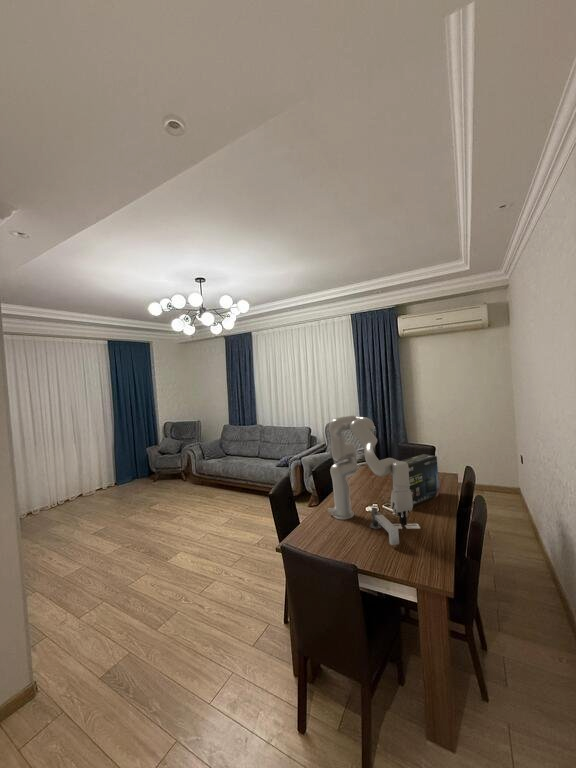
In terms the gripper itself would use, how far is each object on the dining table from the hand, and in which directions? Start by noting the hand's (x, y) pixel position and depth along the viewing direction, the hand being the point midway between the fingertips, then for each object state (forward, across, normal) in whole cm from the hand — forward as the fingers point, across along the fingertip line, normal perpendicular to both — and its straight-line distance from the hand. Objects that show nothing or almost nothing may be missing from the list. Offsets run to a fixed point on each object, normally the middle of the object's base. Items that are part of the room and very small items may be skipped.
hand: (403, 524), depth 149 cm
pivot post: (+9, +4, -18) cm, 21 cm away
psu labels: (+8, -9, -12) cm, 17 cm away
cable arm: (+7, +6, -6) cm, 11 cm away
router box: (+9, -41, -37) cm, 56 cm away
